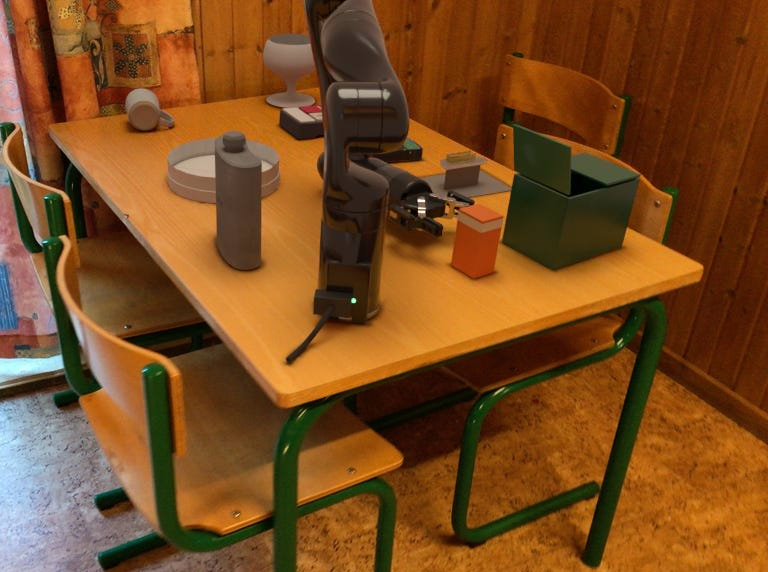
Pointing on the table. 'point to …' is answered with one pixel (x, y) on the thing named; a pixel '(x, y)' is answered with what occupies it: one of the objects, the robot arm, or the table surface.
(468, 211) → the block
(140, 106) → the ceramic mug
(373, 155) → the disk drive
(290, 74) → the chalice
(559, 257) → the green flap box
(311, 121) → the dark box with panels
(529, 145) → the green box lid flap
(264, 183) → the dish
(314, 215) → the table surface
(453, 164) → the platform
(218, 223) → the flask
